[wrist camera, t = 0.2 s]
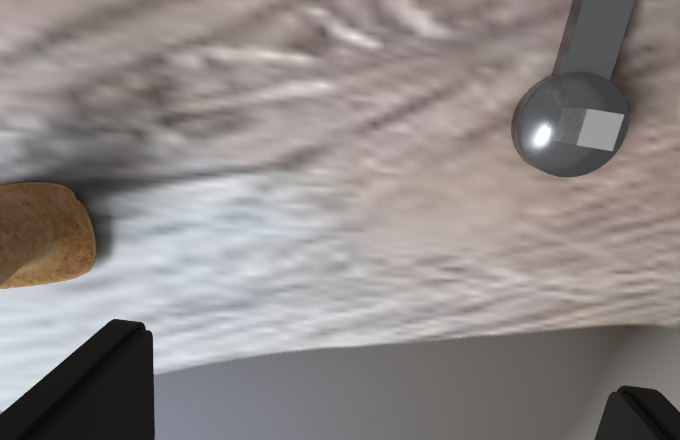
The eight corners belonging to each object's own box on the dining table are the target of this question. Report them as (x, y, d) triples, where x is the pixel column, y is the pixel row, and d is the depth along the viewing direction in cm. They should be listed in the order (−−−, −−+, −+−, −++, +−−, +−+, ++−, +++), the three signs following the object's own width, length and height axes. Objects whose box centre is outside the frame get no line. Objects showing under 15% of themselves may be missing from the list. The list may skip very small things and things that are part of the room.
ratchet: (586, -163, 31) (640, -229, 24) (699, -146, 31) (783, -209, 24) (500, 163, 37) (526, 177, 31) (593, 179, 37) (638, 195, 31)
